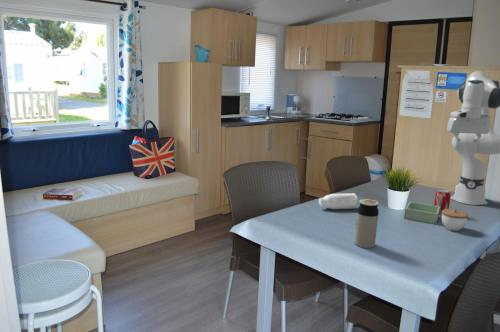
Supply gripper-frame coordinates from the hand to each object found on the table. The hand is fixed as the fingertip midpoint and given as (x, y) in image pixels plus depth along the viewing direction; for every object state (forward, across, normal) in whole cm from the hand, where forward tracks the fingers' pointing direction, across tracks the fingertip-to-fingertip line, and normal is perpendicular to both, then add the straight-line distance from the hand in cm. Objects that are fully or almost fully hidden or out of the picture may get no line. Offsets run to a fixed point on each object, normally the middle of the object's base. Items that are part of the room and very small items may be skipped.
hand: (466, 142), depth 204 cm
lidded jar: (+38, +14, +20) cm, 45 cm away
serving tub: (+37, +20, +4) cm, 43 cm away
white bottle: (+38, +58, -9) cm, 70 cm away
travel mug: (+38, +63, +37) cm, 82 cm away
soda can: (+38, +6, -2) cm, 38 cm away
